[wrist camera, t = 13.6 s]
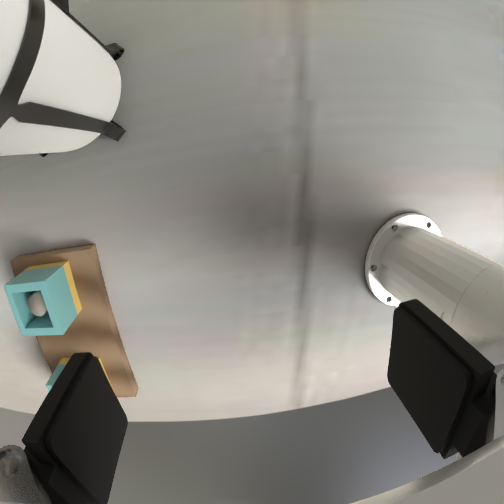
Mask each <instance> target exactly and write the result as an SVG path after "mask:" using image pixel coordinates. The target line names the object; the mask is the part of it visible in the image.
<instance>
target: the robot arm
mask: <svg viewBox="0 0 504 504" xmlns="http://www.w3.org/2000/svg"><path fill="white" fill-rule="evenodd" d="M365 276H366V281H367V284H368V287H369V289H370V290H371V292H372V293H373V295H374V296H375V297H376V298H377V299H378V300H380V301H381V302H383V303H384V304H387V305H389V306H396V307H398V308H396V309H395V310H394V316H393V328H392V339H391V348H390V357H389V365H388V373H387V377H388V381H389V384H390V385H391V387H392V388H393V390H394V391H395V392H396V394H397V396H398V397H399V398H400V400H401V402H402V403H403V404H404V406H405V408H406V409H407V410H408V412H409V413H410V415H411V417H412V418H413V420H414V421H415V423H416V424H417V426H418V427H419V429H420V430H421V432H422V434H423V435H424V437H425V438H426V440H427V441H428V443H429V444H430V446H431V448H432V449H433V451H434V452H436V453H439V452H440V454H441V456H442V457H443V458H444V459H446V458H448V457H450V456H452V455H454V454H455V453H458V454H457V460H456V462H453V463H452V464H450V465H447V466H445V467H443V468H442V469H439V470H437V471H435V472H433V473H430V474H428V475H426V476H424V477H422V478H419V479H417V480H415V481H412V482H410V483H408V484H405V485H403V486H400V487H398V488H395V489H393V490H390V491H387V492H384V493H381V494H379V495H376V496H373V497H370V498H367V499H364V500H360V501H357V502H354V503H350V504H504V369H503V370H502V371H500V372H499V374H498V375H496V374H495V373H494V369H495V366H494V365H497V364H502V363H504V265H502V264H500V263H498V262H496V261H494V260H492V259H490V258H488V257H486V256H483V255H481V254H479V253H477V252H475V251H473V250H471V249H469V248H467V247H464V246H462V245H460V244H458V243H456V242H453V241H451V240H449V239H447V238H444V237H442V234H441V232H440V230H439V228H438V227H437V225H436V224H435V223H434V222H433V221H432V220H431V219H430V218H428V217H425V216H423V215H420V214H417V213H406V214H401V215H399V216H396V217H394V218H393V219H391V220H390V221H388V222H387V223H386V224H385V225H384V226H383V227H382V228H381V229H380V230H379V231H378V232H377V234H376V235H375V237H374V238H373V240H372V242H371V244H370V246H369V249H368V252H367V256H366V261H365ZM127 424H128V421H127V417H126V414H125V412H124V411H123V409H122V407H121V405H120V403H119V401H118V399H117V397H116V395H115V393H114V391H113V389H112V387H111V385H110V383H109V381H108V379H107V377H106V374H105V372H104V370H103V368H102V366H101V363H100V361H99V359H98V358H97V357H96V356H93V354H92V353H90V352H81V353H74V354H73V355H72V356H71V358H70V359H69V361H68V362H67V364H66V365H65V367H64V368H63V370H62V372H61V373H60V375H59V376H58V378H57V380H56V381H55V383H54V385H53V386H52V388H51V390H50V391H49V393H48V395H47V396H46V398H45V400H44V401H43V403H42V405H41V406H40V408H39V410H38V412H37V413H36V415H35V417H34V419H33V420H32V422H31V424H30V426H29V428H28V430H27V431H26V433H25V435H24V437H23V439H22V442H23V443H24V444H25V446H26V447H25V449H24V450H23V449H22V448H21V447H19V446H16V445H8V446H4V447H2V448H0V504H107V502H108V499H109V495H110V491H111V487H112V482H113V478H114V474H115V470H116V466H117V462H118V458H119V454H120V451H121V447H122V443H123V440H124V436H125V432H126V429H127Z"/></svg>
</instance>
